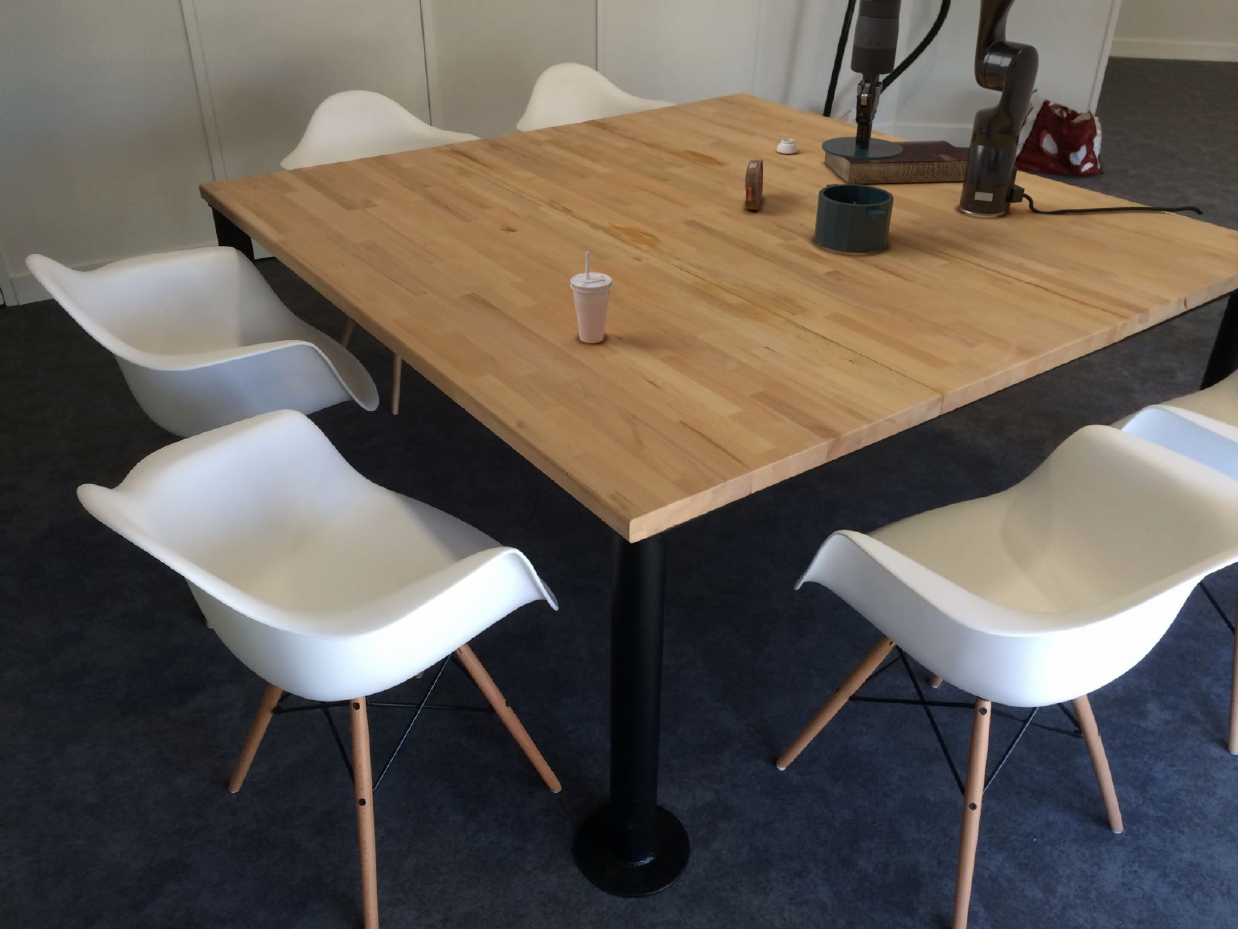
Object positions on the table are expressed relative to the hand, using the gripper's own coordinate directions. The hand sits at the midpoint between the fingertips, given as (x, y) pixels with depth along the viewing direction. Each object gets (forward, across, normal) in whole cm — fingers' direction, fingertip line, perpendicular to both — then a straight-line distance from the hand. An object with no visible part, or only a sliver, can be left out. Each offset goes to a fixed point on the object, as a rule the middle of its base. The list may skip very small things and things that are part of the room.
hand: (862, 142), depth 194 cm
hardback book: (+19, +53, -2) cm, 57 cm away
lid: (+1, 0, 0) cm, 1 cm away
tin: (+19, +18, +23) cm, 35 cm away
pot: (+19, 0, 0) cm, 19 cm away
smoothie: (+19, -58, +31) cm, 69 cm away
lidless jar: (+19, +61, +25) cm, 69 cm away
